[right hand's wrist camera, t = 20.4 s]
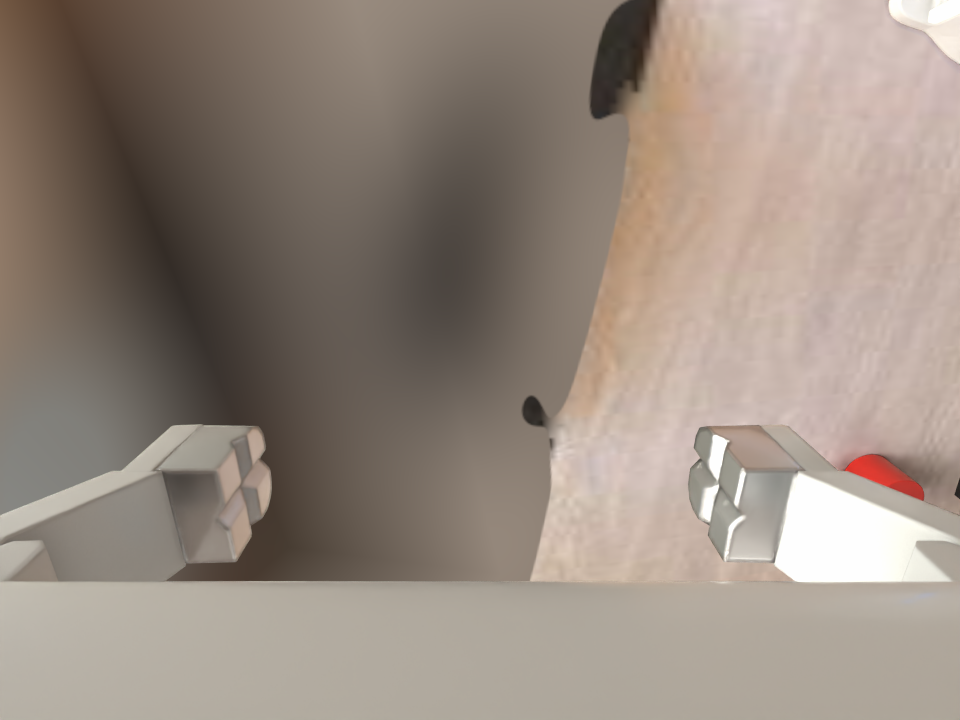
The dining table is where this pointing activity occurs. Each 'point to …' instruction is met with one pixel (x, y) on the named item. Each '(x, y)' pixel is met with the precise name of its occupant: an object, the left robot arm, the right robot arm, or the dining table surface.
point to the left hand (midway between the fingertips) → (887, 486)
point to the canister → (885, 475)
